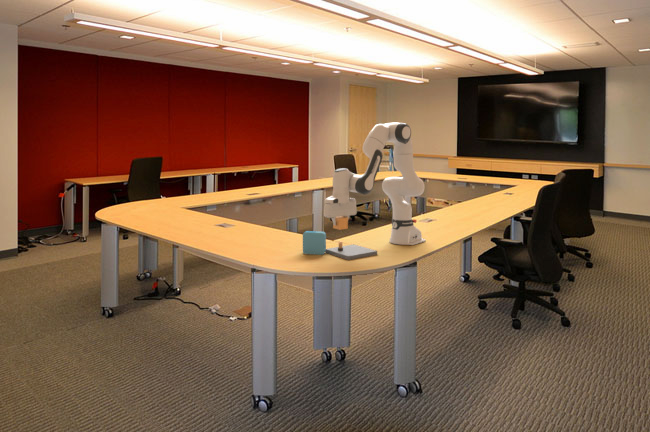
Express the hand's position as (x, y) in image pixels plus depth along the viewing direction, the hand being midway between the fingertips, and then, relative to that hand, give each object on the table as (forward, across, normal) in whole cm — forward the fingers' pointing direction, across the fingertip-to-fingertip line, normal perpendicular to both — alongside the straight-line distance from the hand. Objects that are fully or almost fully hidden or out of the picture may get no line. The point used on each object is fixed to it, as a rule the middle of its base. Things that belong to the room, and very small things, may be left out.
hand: (340, 224), depth 276 cm
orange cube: (+2, 0, 0) cm, 2 cm away
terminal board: (+16, -6, +3) cm, 17 cm away
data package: (+17, +10, -9) cm, 22 cm away
